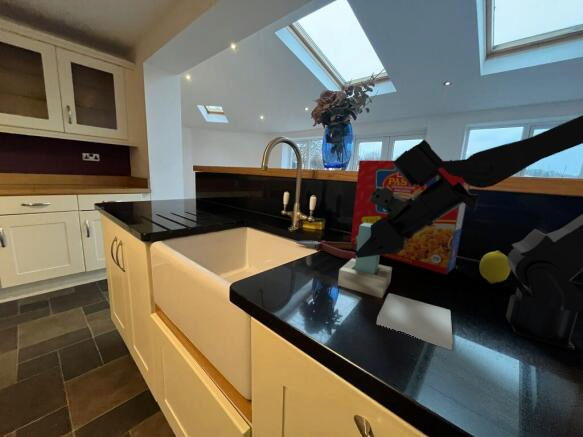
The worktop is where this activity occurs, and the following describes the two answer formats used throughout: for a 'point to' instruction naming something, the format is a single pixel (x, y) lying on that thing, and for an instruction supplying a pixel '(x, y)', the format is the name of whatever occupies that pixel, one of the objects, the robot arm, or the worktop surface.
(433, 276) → the worktop surface
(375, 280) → the socket block
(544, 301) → the robot arm
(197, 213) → the worktop surface
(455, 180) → the pasta box
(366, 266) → the post
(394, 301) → the pad
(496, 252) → the lemon
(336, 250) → the pliers
